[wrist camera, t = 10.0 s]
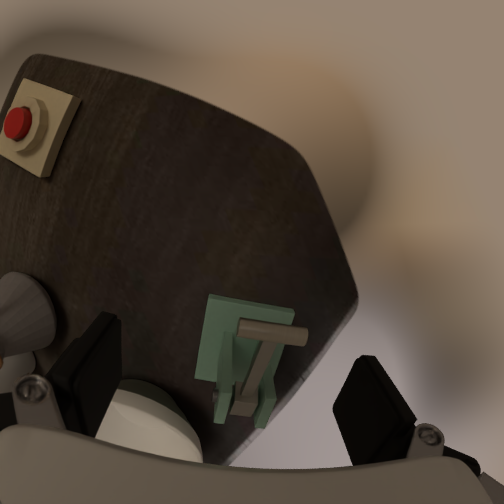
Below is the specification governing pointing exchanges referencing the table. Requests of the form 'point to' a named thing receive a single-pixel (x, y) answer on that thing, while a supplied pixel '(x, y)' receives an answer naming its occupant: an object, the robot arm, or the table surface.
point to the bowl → (149, 422)
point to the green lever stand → (237, 353)
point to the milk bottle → (15, 369)
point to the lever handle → (261, 358)
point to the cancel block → (40, 127)
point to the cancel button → (17, 123)
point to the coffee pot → (24, 315)
